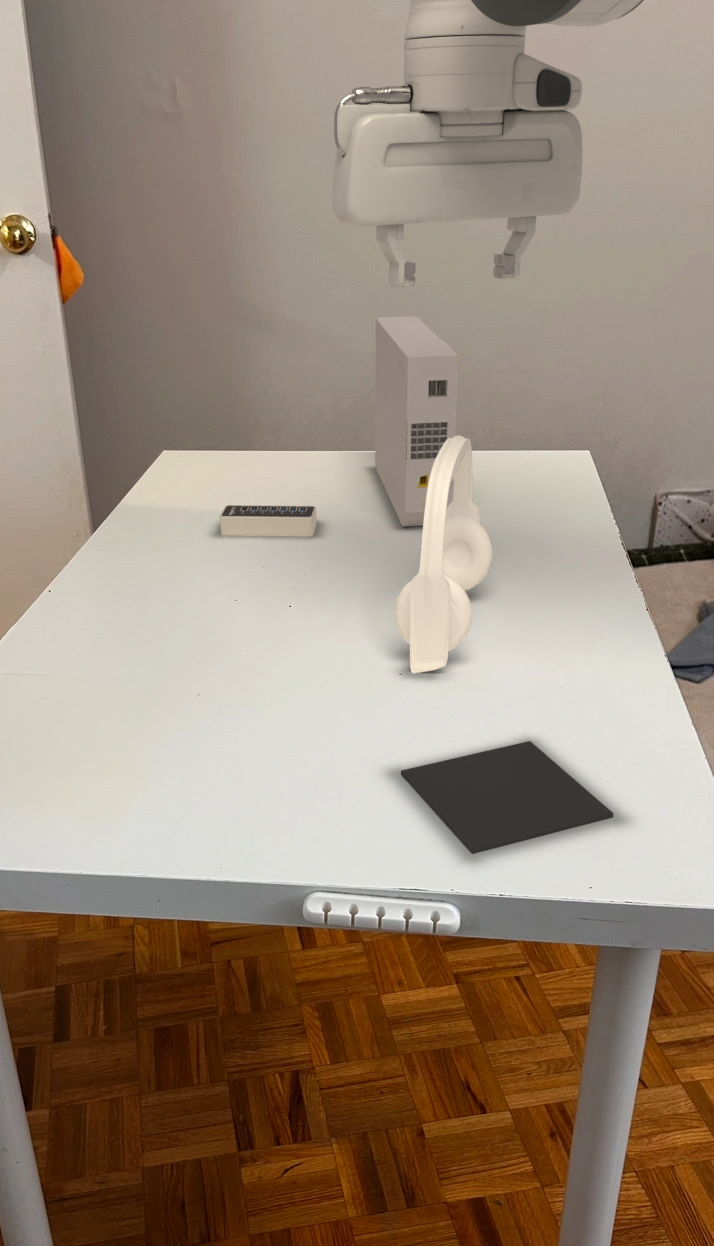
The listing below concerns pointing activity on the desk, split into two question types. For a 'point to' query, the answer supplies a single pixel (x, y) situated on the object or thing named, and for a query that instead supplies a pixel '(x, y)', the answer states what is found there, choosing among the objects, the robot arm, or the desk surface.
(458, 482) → the headset
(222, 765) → the desk surface
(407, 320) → the game console
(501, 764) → the desk mat
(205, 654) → the desk surface
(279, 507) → the multiport hub
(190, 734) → the desk surface
